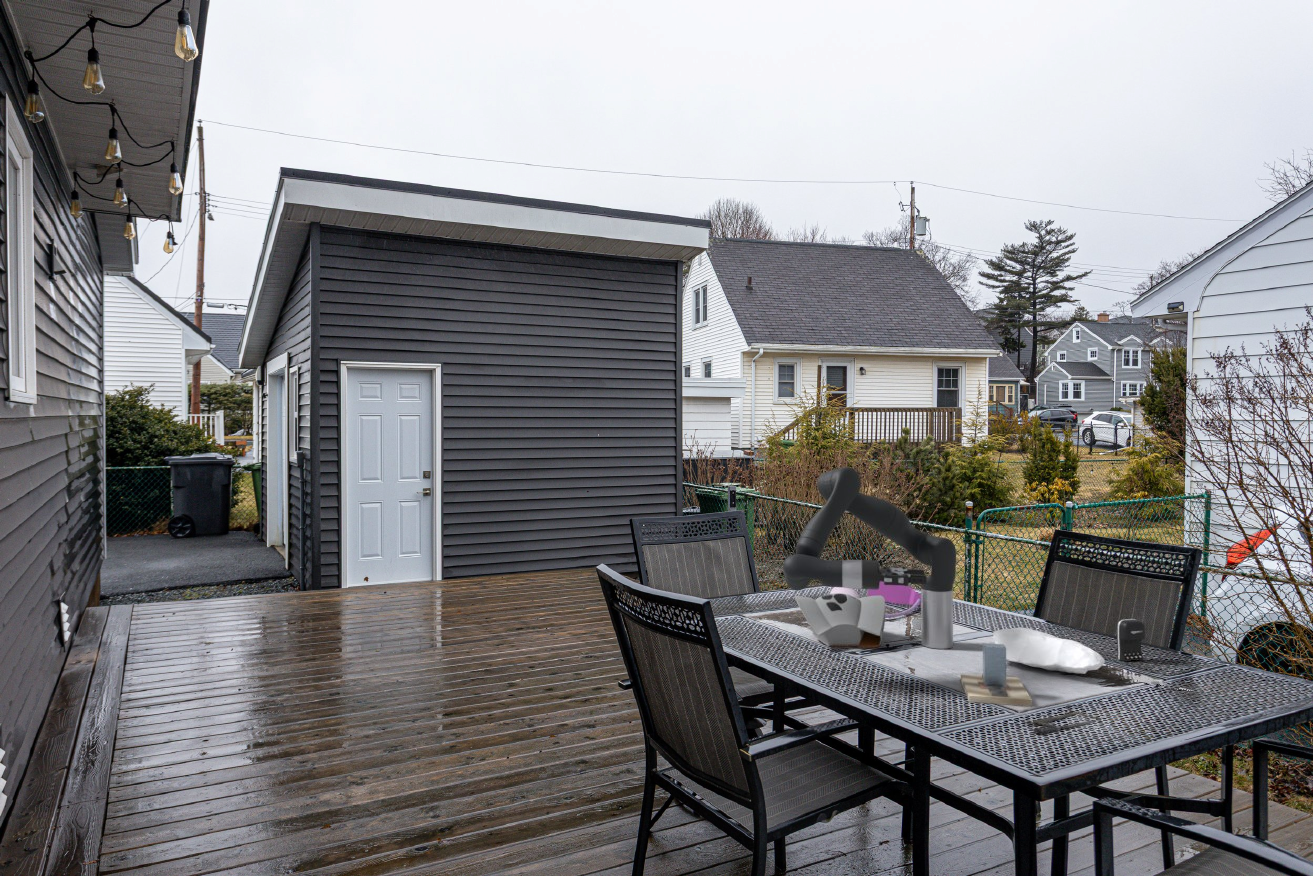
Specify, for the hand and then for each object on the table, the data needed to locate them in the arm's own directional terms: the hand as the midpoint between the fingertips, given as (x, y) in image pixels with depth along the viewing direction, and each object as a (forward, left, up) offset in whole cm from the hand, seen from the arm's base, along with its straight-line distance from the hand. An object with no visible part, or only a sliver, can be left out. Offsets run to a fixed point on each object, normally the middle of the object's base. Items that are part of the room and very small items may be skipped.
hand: (925, 576), depth 207 cm
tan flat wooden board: (+2, +16, -28) cm, 32 cm away
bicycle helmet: (-41, -23, -28) cm, 55 cm away
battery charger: (-37, +58, -28) cm, 74 cm away
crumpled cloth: (-26, +34, -28) cm, 51 cm away
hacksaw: (+19, +27, -29) cm, 44 cm away
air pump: (-86, -11, -28) cm, 91 cm away
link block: (+2, +16, -26) cm, 31 cm away
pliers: (-11, +58, -29) cm, 65 cm away
